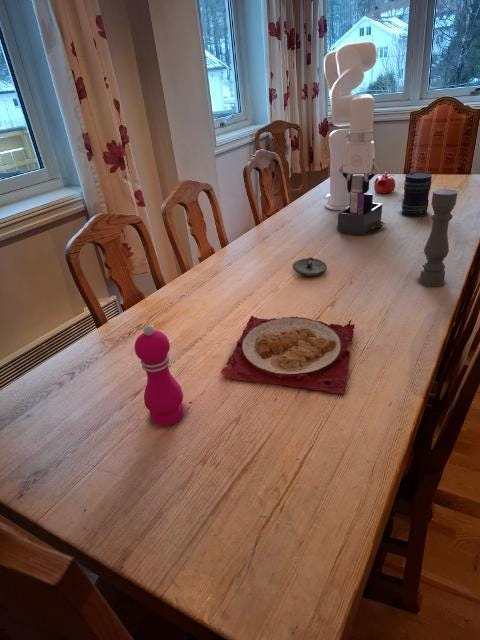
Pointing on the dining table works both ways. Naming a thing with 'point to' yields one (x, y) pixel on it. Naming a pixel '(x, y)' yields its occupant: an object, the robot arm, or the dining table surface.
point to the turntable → (369, 231)
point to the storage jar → (416, 194)
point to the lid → (309, 266)
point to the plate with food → (292, 353)
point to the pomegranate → (384, 184)
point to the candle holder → (438, 238)
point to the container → (357, 195)
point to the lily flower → (378, 225)
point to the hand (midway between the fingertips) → (357, 191)
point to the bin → (360, 217)
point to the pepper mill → (159, 378)
